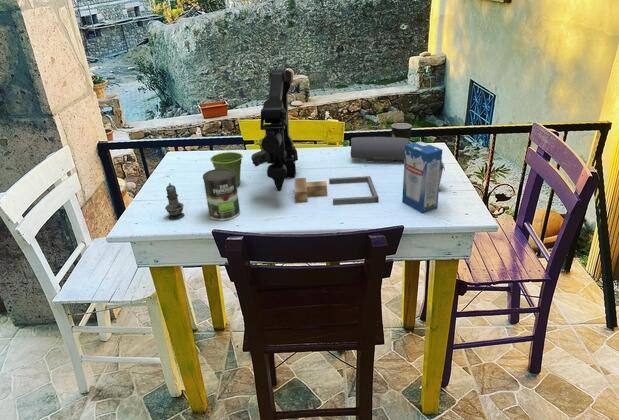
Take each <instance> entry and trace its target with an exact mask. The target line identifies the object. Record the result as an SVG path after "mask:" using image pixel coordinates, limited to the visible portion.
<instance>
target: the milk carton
mask: <svg viewBox="0 0 619 420" xmlns="http://www.w3.org/2000/svg"><path fill="white" fill-rule="evenodd" d="M442 159H443V149H442V148H440V147H437V146H434V145H432V144H429V143H426V142H423V141H421V140H420V141H416V142H412V143H409V144H408V145H405V159H404V160H403V161H404V162H403V163H404V164H403V180H402V200H401V201H402V203H403V204H405V206H409V208H412V209H413V210H415V211H417V212H419V213H421V214H425V213H428V212H431V211H434V210H436V209H438V203H439V193H440V192H439V191H440V186H439V183H440V184H441V181H440V172H441V161H442ZM442 162H443V161H442Z"/></svg>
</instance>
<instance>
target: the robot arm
mask: <svg viewBox="0 0 619 420" xmlns="http://www.w3.org/2000/svg"><path fill="white" fill-rule="evenodd" d="M267 74H268V75H267V77H268V84H269V92H268V98H267V99H266V100H265V101H264V102H263V106H262V108H261V109H260V126H259V127H260V131H264V133H265V134H264V136H263V137H262V138H263V140H262V143H261V145H262V148H263V150H261V149H260V150H259V151H257V152H255V153H252V154H251V156H250V157H251V158H250V160H252V164H253V165H254V167H256V168H257V167H259V166H260V165H263V164H265V163H267V165H268V164H269V165H268V166H267V167H266V174H267V177H268V178H269V179H272V180H273V183H274V185H275V189H276V191H277V192H281V191H282V189H283V188H282V187H283V185H284V182H285V181H286V179H290V178H296V174H297V167H296V162H297V161H298V160H299V155H298V150H297V149H296V146H295V145H294V140H293V139H292V137H291V136H290V130H289V129H290V127H289V126H290V125H289V100H288V98H289V94H290V92H291V89H292V87H293V86H292V83H294V73H293V72H292V71H290V69H273V70H270V71H269V72H267Z"/></svg>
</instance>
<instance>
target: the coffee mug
mask: <svg viewBox="0 0 619 420" xmlns="http://www.w3.org/2000/svg"><path fill="white" fill-rule="evenodd" d="M390 126H391V137H397V138H408V139H409V141H410V140H411V134H412V128H413V125H412V124H410V123H407V122H397V123H391V125H390Z"/></svg>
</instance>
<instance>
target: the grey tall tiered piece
mask: <svg viewBox="0 0 619 420" xmlns="http://www.w3.org/2000/svg"><path fill="white" fill-rule="evenodd" d="M176 188H177V187H176V186H175V185H173V184H172V183H171V182H169V183H168V185H167V186H166V187H165V190H166V194H167V195H166V199H167V202H168V204H167V205H166V206H165V208H164V209H165V210H166V212H167V214H169V215H168V217H167V218H168V219H169V220H171V221H177V220H180V219H183V218H184V217H185V213H184V212H183V211H184V207H185V205H184V203H182V202H179V199H178V197H179V194H178V193H177V190H176Z"/></svg>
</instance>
